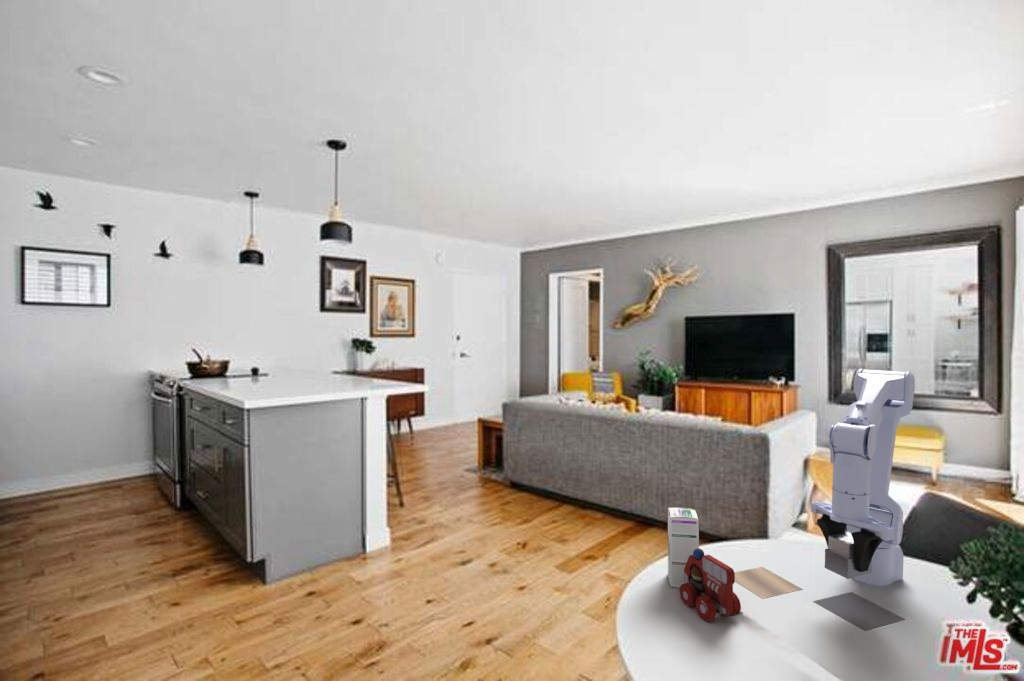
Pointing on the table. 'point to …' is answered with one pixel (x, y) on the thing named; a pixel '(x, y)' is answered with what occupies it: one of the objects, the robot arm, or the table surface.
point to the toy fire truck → (709, 586)
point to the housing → (843, 556)
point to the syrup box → (681, 542)
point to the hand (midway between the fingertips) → (848, 564)
